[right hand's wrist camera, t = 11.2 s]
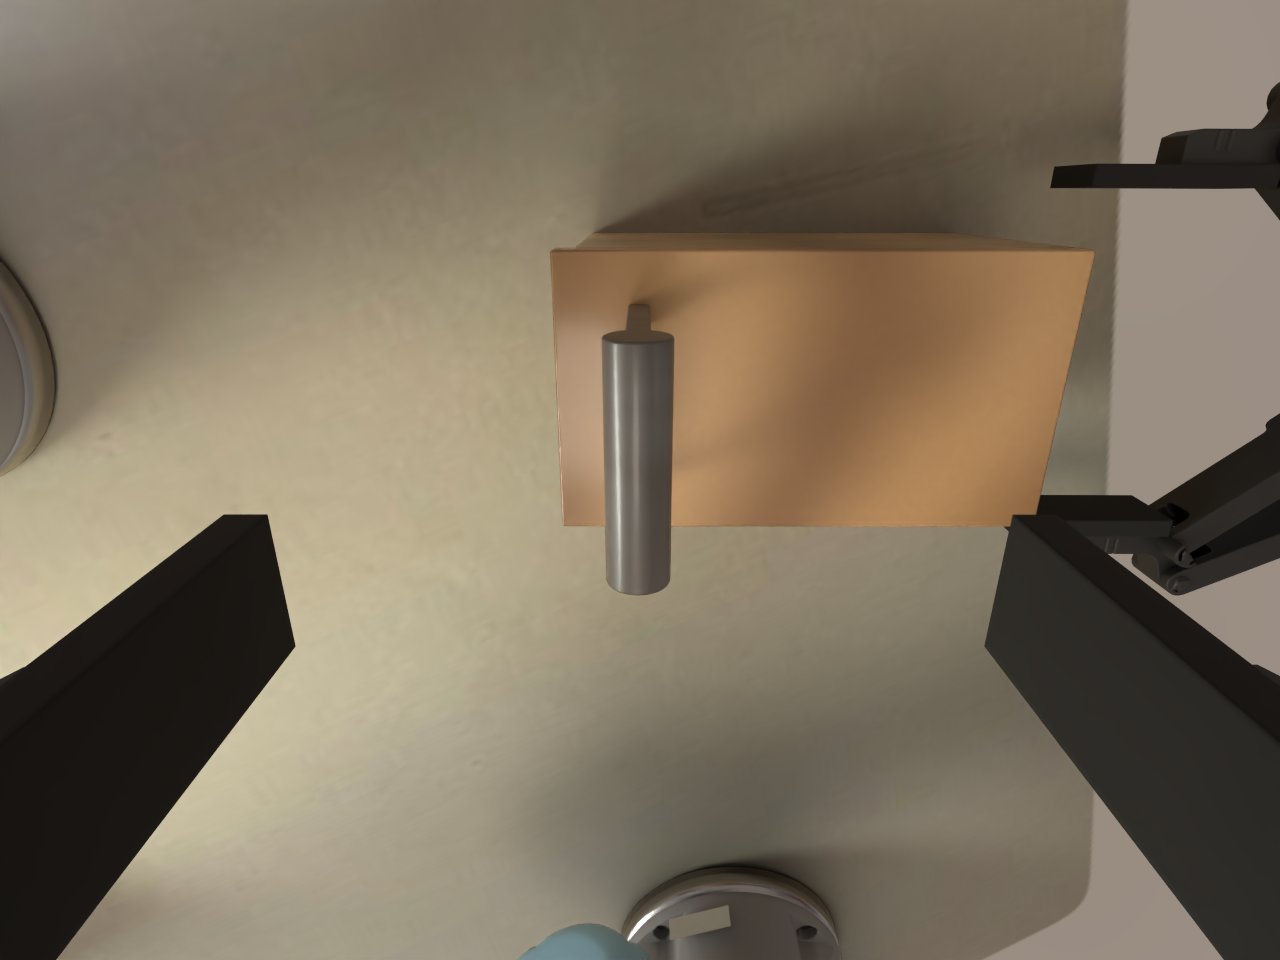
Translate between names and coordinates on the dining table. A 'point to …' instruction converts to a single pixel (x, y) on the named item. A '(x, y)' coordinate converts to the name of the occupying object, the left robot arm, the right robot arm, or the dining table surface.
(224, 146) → the dining table surface
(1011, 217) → the dining table surface
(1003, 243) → the chest
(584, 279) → the lid
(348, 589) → the dining table surface
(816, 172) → the dining table surface
